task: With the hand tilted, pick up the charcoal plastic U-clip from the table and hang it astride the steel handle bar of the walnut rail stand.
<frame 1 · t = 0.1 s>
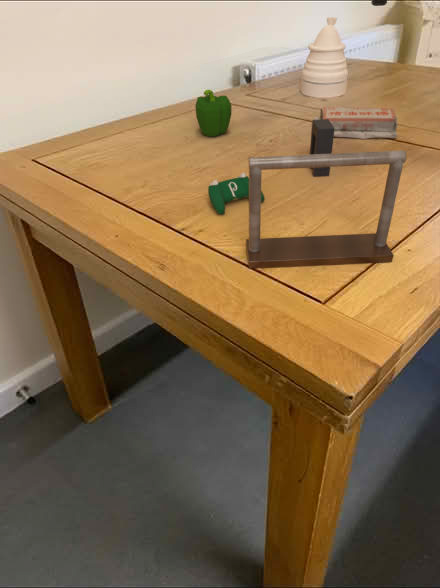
hand: (371, 2, 75), 27 cm above the table, tool pointing down, fingers open, 8 cm apart
honey pot: (322, 92, 134), on the table
bell pepper: (213, 134, 109), on the table
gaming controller: (234, 204, 81), on the table
clip: (318, 170, 90), on the table
packaged product: (352, 132, 107), on the table
rail stand: (316, 253, 67), on the table
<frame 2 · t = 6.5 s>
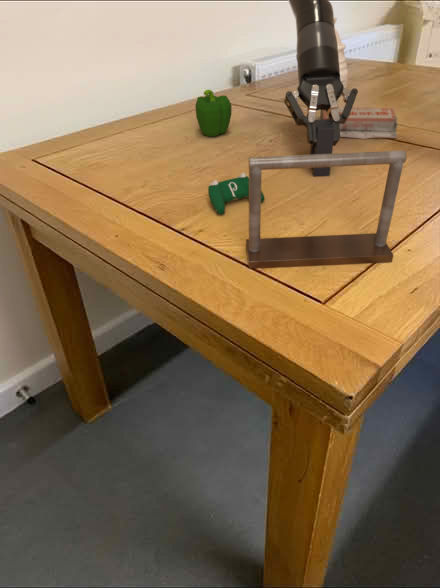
hand: (324, 144, 85), 6 cm above the table, tool tilted 45°, fingers closed on clip, 3 cm apart
clip: (318, 170, 90), on the table, touching gripper
everything else where it was.
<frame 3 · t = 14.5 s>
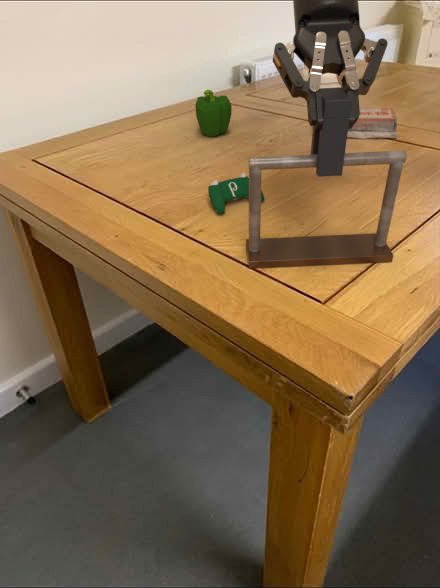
hand: (334, 126, 54), 19 cm above the table, tool tilted 45°, fingers closed on clip, 3 cm apart
clip: (325, 167, 59), point 13 cm above the table, touching gripper
everything else where it was.
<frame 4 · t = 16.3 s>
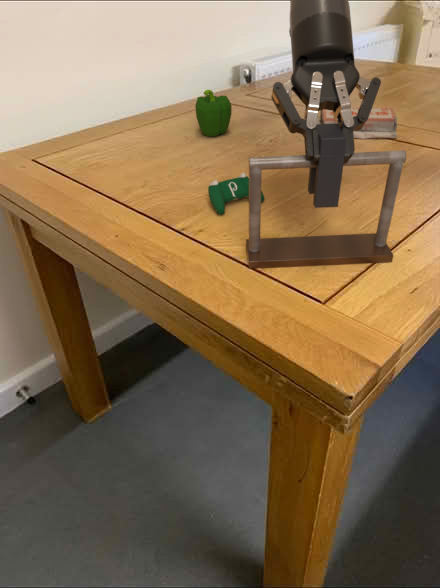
hand: (330, 161, 57), 15 cm above the table, tool tilted 45°, fingers closed on clip, 3 cm apart
clip: (322, 198, 62), point 9 cm above the table, touching gripper
everything else where it was.
when the fingers open (16 cm above the table, at t = 22.6 s): clip drops 2 cm, resting on rail stand.
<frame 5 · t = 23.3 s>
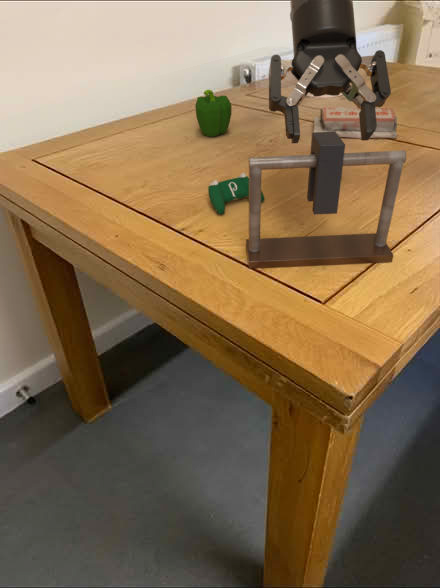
hand: (331, 139, 56), 17 cm above the table, tool tilted 45°, fingers open, 8 cm apart
clip: (321, 205, 62), point 8 cm above the table, touching rail stand
everything else where it was.
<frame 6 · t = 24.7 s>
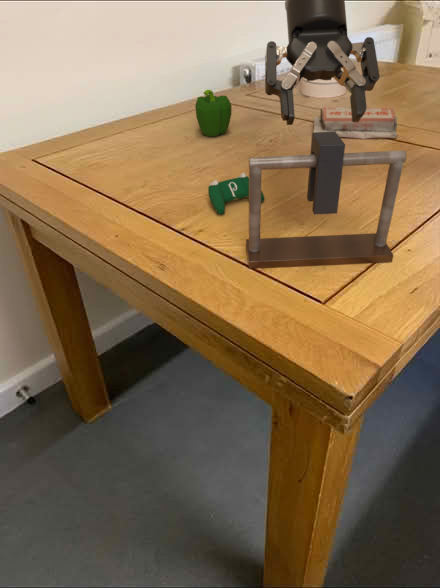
hand: (324, 120, 59), 18 cm above the table, tool tilted 45°, fingers open, 8 cm apart
nothing on the table moved.
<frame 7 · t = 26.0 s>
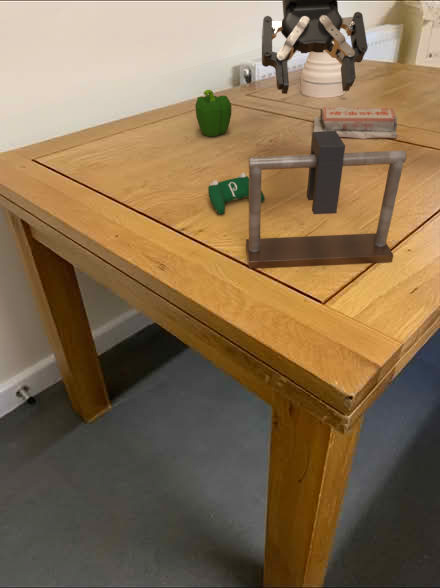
hand: (316, 89, 64), 20 cm above the table, tool tilted 45°, fingers open, 8 cm apart
nothing on the table moved.
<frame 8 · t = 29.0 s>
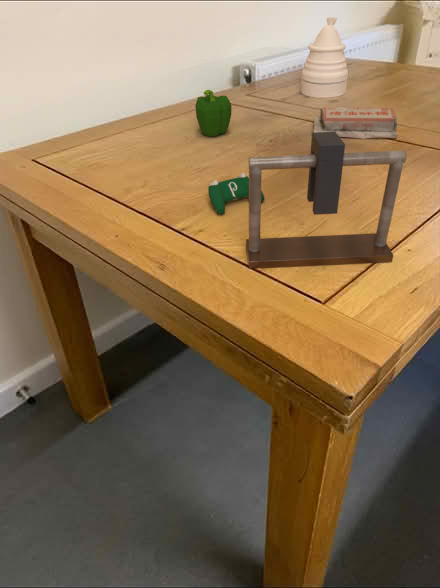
nothing on the table moved.
at the end: clip 0.1 cm off-centre on the rail stand, point 7.8 cm above the rail stand's base; clip touching rail stand; clip tilted 0° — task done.
